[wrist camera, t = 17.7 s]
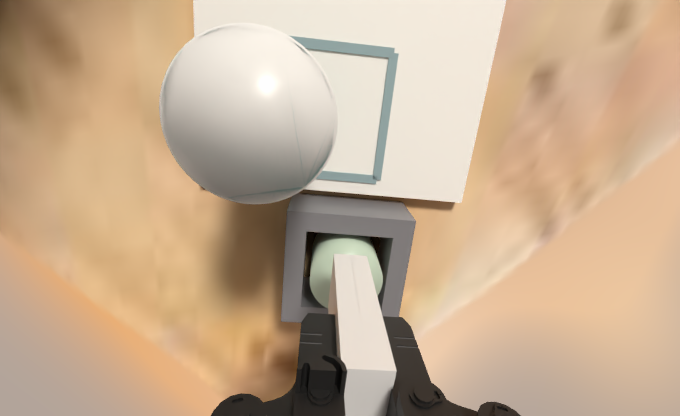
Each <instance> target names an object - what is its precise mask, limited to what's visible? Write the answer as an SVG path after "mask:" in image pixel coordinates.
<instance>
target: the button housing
mask: <svg viewBox="0 0 680 416" xmlns="http://www.w3.org/2000/svg"><path fill="white" fill-rule="evenodd" d="M415 224H416V220H415V219H414V218H413V216H412V215H411V213H410V212H409V211H408V209H407V208H406V206H405V205H404V204H403V202H397V201H386V200H374V199H362V198H350V197H339V196H327V195H315V194H303V193H297V194H295V195H293V196H292V197H291V200H290V203H289V206H288V209H287V220H286V239H285V257H284V275H283V294H282V312H281V322H298V323H302V321H303V319H304V318H305V316H306V315H307V314H308V313H319V314H328V308H326V307H324V306H323V305H321V304H320V303H319V302H318V301H317V300H316V298H315V297H314V295H313V293H312V291H311V288H310V277H304V273H305V260H306V247H307V234H308V232H321V233H334V234H347V235H360V236H373V237H380V240H379V247H378V254H377V258H378V261H379V264H380V268H381V271H382V275H383V284H382V288H381V291H380V293H379V295H378V296H377V297H378V301H379V305H380V309H381V312H382V316H387V317H399V312H400V306H401V301H402V295H403V290H404V284H405V279H406V273H407V268H408V262H409V257H410V251H411V246H412V240H413V235H414V229H415Z"/></svg>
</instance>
